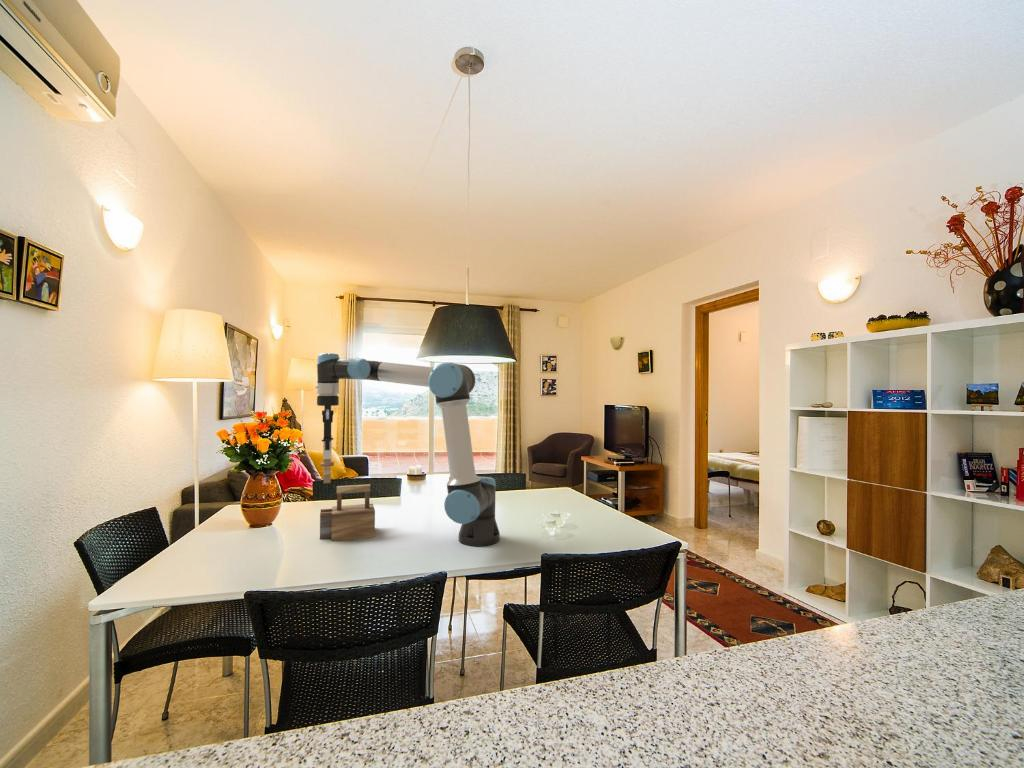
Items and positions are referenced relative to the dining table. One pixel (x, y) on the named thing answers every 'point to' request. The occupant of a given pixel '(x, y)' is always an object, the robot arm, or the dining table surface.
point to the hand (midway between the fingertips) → (327, 458)
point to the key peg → (327, 470)
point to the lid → (350, 510)
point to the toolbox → (347, 527)
